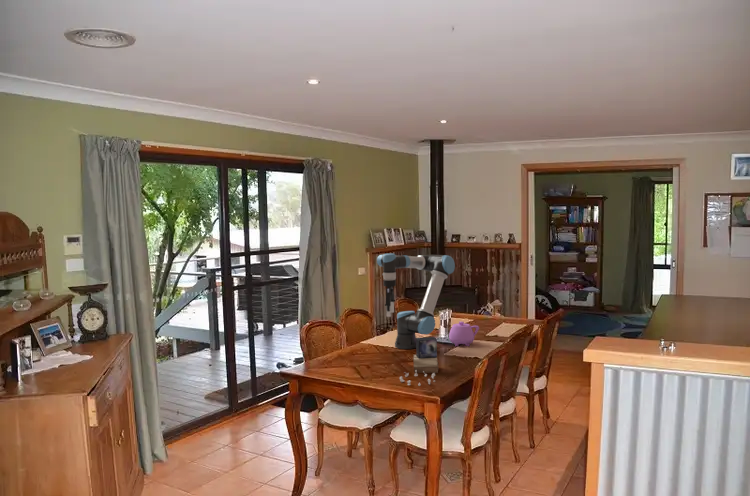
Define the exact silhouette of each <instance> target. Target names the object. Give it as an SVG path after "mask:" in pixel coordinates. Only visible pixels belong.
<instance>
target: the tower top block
mask: <svg viewBox="0 0 750 496" xmlns="http://www.w3.org/2000/svg"><path fill="white" fill-rule="evenodd" d="M437 362H438V357H437V358H420V359H419V358H418V357H417V356H416V354H413V368H414V367H437Z"/></svg>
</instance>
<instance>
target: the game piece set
mask: <svg viewBox="0 0 750 496" xmlns="http://www.w3.org/2000/svg"><path fill="white" fill-rule="evenodd" d="M415 371H416V372H417V370H415ZM423 372H424V371H423ZM404 373H405V374H404ZM409 373H410V372H406V371H404V372H403V374H404V376H405V378H407V377H409V376H410V375H409ZM423 374H424V377H427V376H428V373H423ZM413 376H414V377H418V376H419V373H414V375H413ZM435 376H436V373H431V376H430V378H431V379H433V382H434V383H435V382H436V380H434V379H435V378H434V377H435ZM403 378H404V377H403V376H402V375H401V376H399V381H400V383H403V382H405V379H403ZM430 378H428V379H427V382H428V385H431V379H430ZM411 382H412V380H407V381H406V383H407V386H411ZM421 385H422V384H421V383H420V382H419V383H418V386H419V387H421Z"/></svg>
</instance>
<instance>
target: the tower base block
mask: <svg viewBox="0 0 750 496" xmlns="http://www.w3.org/2000/svg"><path fill="white" fill-rule="evenodd" d="M415 370H417V372H416V371H415ZM423 371H424V372H423ZM413 372H414V374H415V373H417V374H420V373H421V374H422V373H423V374H424V373H425V374H433V373H435V374H438V373H439V362H438V361H437V367H414V366H413Z"/></svg>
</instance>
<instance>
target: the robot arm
mask: <svg viewBox="0 0 750 496" xmlns="http://www.w3.org/2000/svg"><path fill="white" fill-rule="evenodd" d="M376 264H377V265H378V266H379V267H382V270H383V271H382V272H383V273H382V276H383V284H382V285H383V286H384V287H386V289H385V304H384V306H385V311H386V313H385V314H386V318H391V317H392V313H395V302H396V299H395V293H394V287H396V286H397V280H396V279H397V271H396V270H397V269H407V268H408V269H417V270H420V271H426V272H429V273H430V274H431V277H430V280H429V283H428V285H427V288H426V291H425V295H424V296H423V299H422V302H421V306H420V308H418V309H417V310H416V312H415V310H405V311H399V312H397V314H396V326H397V327H396V330H397V331H396V332H397V333H396V334H397V335H396V338H395V342H394V347H395V348H396V349H401V350H411V349H412V350H413V349H416V338H417V337H416V334H420V335H429V334H431V333H432V332H433V331H434V330H435V328H436V319H435V315H434V310H435V308H436V305H437V303H438V302H437V301H438V299H439V296H440V294H441V290H442V288H443V285H444V283H445V280H446V279H448V277H449V275H451V274H453V273H454V272H455V268H456V265H455V260H454V258H453V257H452V256H450V255H446V254H444V255H443V254H426V255H425V254H424V255H419V254H418V255H417V256H413V255H412V256H411V255H406V254H405V255H403V254H402V255H396V254H395V253H393V252H392V253H384V254H380V255H378V256H377V258H376Z"/></svg>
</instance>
